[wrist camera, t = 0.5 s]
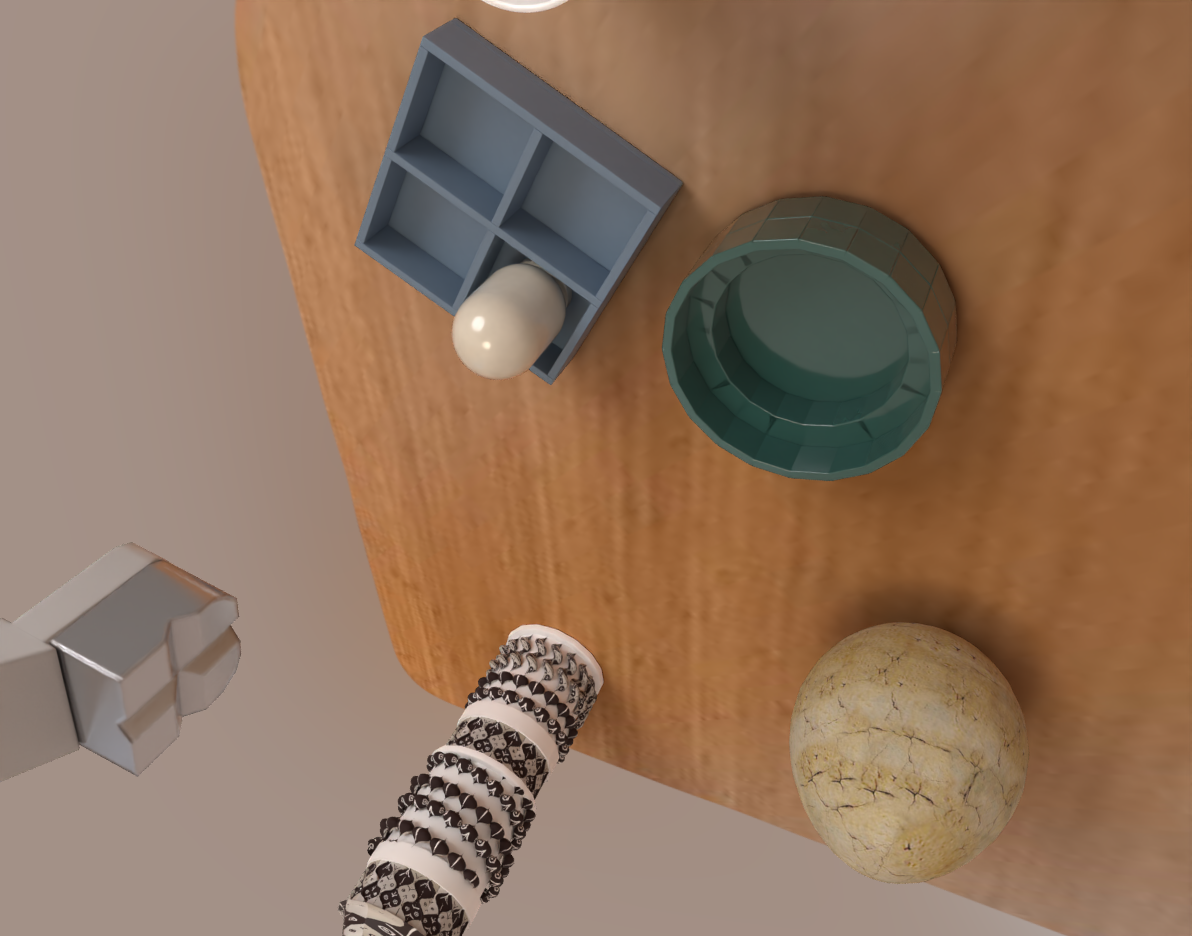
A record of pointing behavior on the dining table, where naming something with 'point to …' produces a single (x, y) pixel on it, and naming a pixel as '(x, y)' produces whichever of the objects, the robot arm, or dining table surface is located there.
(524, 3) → the white cup
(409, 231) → the divided tray
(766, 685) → the dining table surface
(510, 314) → the cream capsule
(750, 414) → the bowl
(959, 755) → the fossilized egg
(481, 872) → the decorative candle
